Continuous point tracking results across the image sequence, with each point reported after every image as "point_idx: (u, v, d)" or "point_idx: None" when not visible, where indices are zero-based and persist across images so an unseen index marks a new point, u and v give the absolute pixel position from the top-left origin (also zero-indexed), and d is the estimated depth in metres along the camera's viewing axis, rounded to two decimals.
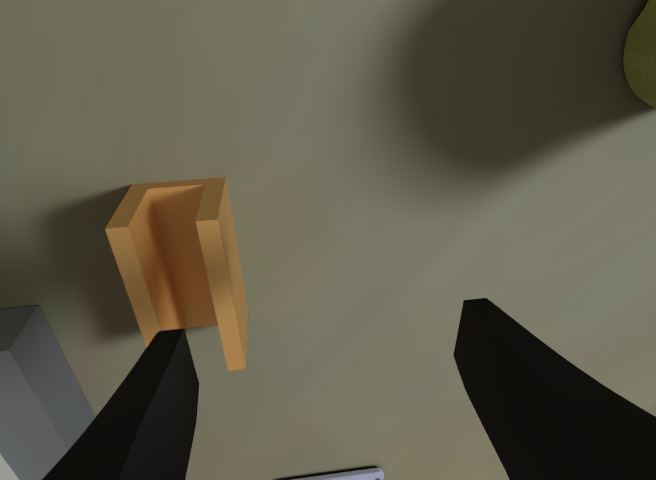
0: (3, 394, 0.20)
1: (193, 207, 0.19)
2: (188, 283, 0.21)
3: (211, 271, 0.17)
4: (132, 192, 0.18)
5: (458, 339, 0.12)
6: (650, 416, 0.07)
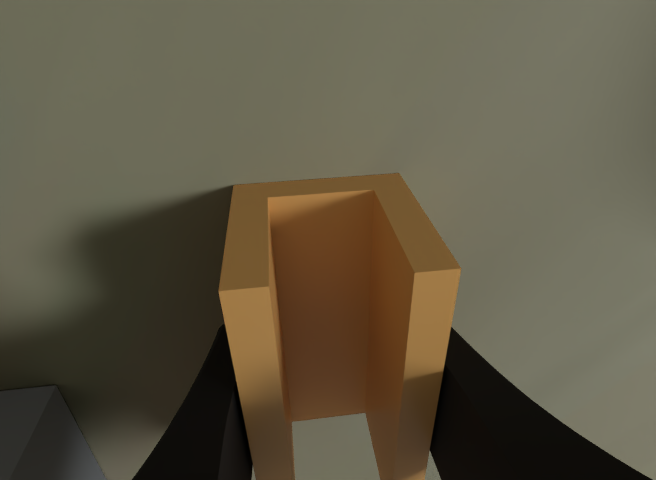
0: None
1: (343, 231, 0.10)
2: (308, 356, 0.12)
3: (414, 367, 0.08)
4: (241, 204, 0.09)
5: None
6: (564, 427, 0.07)
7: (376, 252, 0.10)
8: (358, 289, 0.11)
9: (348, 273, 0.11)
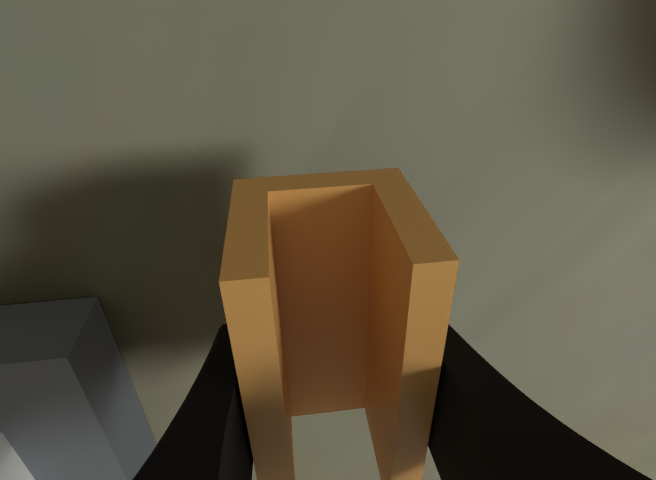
0: (53, 416, 0.15)
1: (343, 225, 0.10)
2: (308, 351, 0.13)
3: (413, 359, 0.09)
4: (241, 198, 0.10)
5: None
6: (564, 427, 0.07)
7: (375, 246, 0.10)
8: (357, 283, 0.11)
9: (347, 267, 0.11)
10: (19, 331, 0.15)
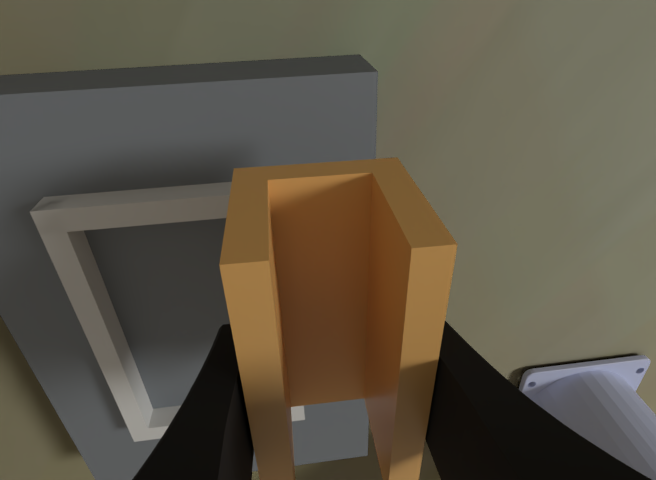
0: (337, 158, 0.14)
1: (342, 214, 0.11)
2: (307, 341, 0.13)
3: (411, 344, 0.09)
4: (241, 186, 0.10)
5: None
6: (564, 427, 0.07)
7: (374, 235, 0.10)
8: (357, 273, 0.12)
9: (347, 257, 0.11)
10: (305, 66, 0.14)
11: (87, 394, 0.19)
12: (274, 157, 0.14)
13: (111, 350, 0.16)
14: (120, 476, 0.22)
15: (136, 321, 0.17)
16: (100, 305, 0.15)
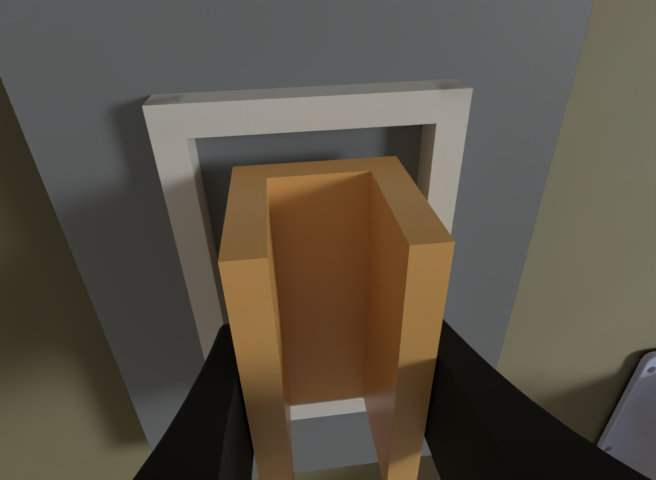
0: (532, 54, 0.11)
1: (341, 212, 0.11)
2: (307, 339, 0.13)
3: (409, 342, 0.09)
4: (240, 184, 0.10)
5: None
6: (564, 427, 0.07)
7: (373, 233, 0.10)
8: (356, 271, 0.12)
9: (346, 255, 0.11)
10: None
11: (167, 369, 0.15)
12: (455, 48, 0.11)
13: (214, 309, 0.13)
14: None
15: None
16: (209, 248, 0.12)
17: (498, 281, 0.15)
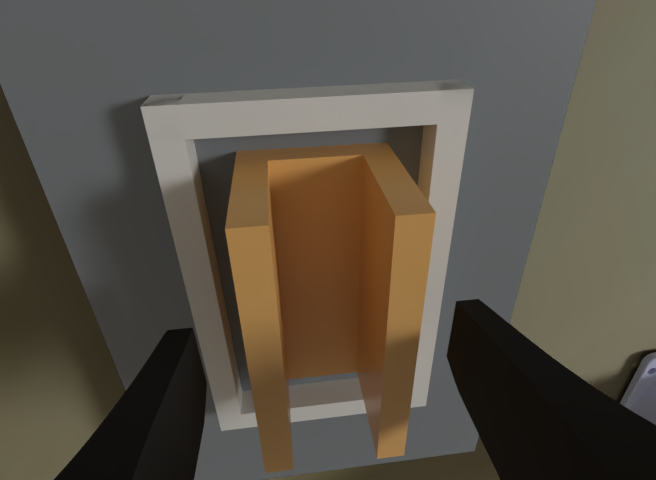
0: (533, 54, 0.11)
1: (336, 194, 0.11)
2: (304, 315, 0.14)
3: (397, 307, 0.10)
4: (243, 166, 0.11)
5: (451, 340, 0.12)
6: (639, 417, 0.07)
7: (365, 212, 0.11)
8: (350, 250, 0.12)
9: (340, 234, 0.12)
10: None
11: None
12: (456, 49, 0.11)
13: (214, 311, 0.13)
14: None
15: None
16: (208, 249, 0.12)
17: (499, 282, 0.15)
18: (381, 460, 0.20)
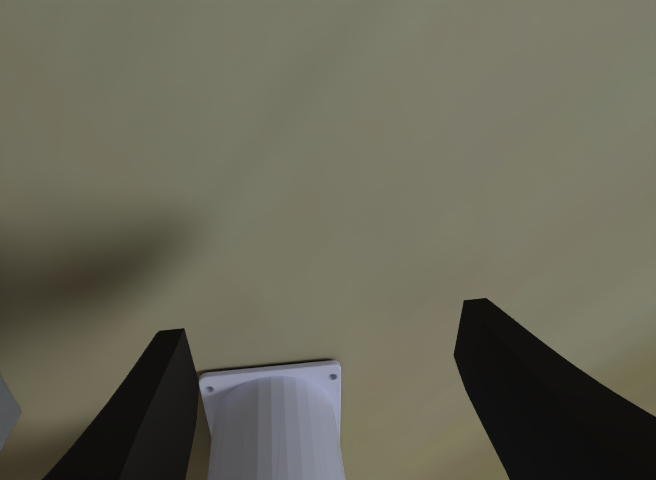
0: None
1: None
2: None
3: None
4: None
5: (458, 339, 0.12)
6: (650, 416, 0.07)
7: None
8: None
9: None
10: None
11: None
12: None
13: None
14: None
15: None
16: None
17: None
18: None
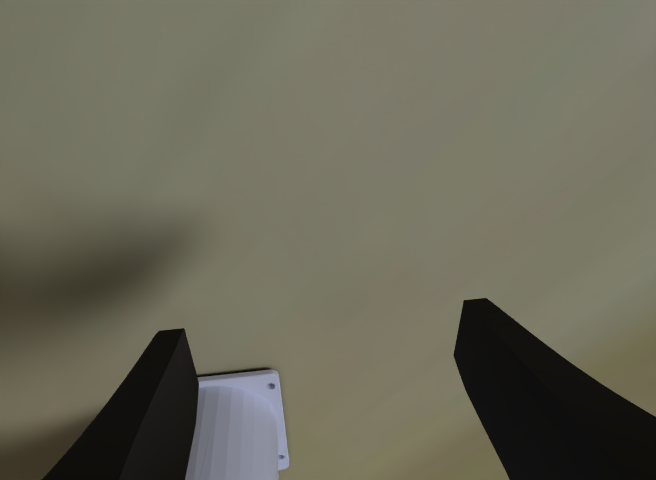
0: None
1: None
2: None
3: None
4: None
5: (458, 339, 0.12)
6: (650, 416, 0.07)
7: None
8: None
9: None
10: None
11: None
12: None
13: None
14: None
15: None
16: None
17: None
18: None
